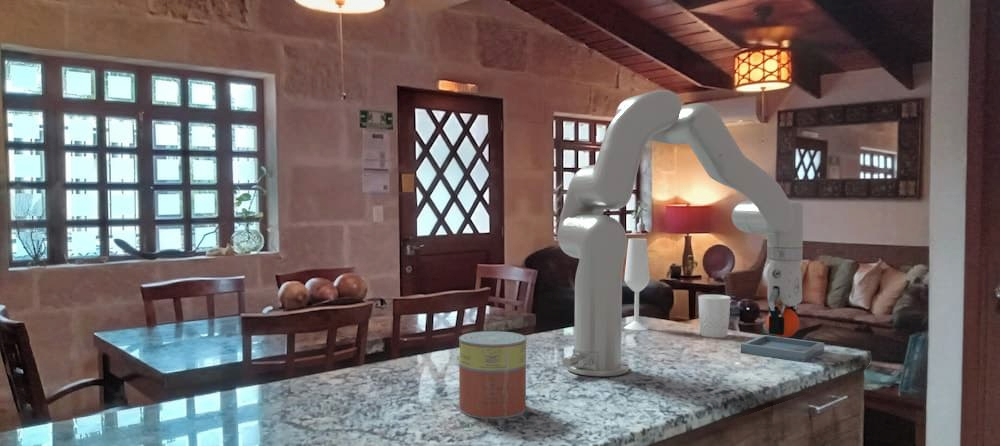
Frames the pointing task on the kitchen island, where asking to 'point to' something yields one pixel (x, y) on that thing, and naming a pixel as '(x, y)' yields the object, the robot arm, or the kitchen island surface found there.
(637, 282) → the champagne flute
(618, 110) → the robot arm
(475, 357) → the canned food
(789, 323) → the clementine
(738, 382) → the kitchen island surface
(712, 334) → the white cup
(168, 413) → the kitchen island surface
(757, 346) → the dish
